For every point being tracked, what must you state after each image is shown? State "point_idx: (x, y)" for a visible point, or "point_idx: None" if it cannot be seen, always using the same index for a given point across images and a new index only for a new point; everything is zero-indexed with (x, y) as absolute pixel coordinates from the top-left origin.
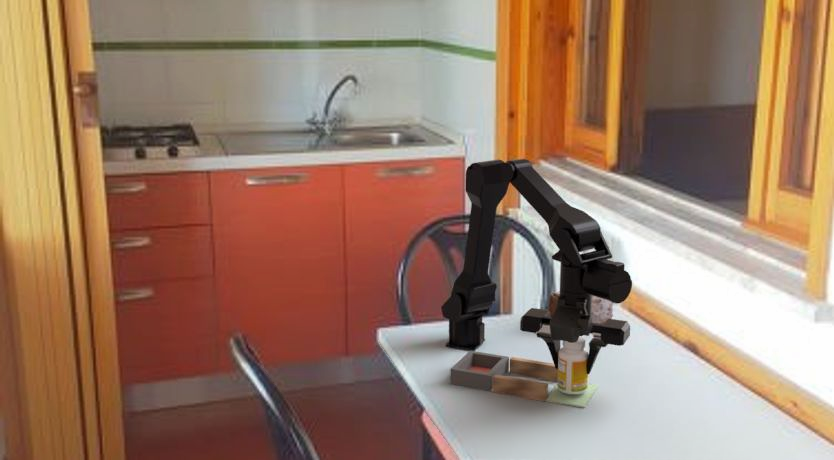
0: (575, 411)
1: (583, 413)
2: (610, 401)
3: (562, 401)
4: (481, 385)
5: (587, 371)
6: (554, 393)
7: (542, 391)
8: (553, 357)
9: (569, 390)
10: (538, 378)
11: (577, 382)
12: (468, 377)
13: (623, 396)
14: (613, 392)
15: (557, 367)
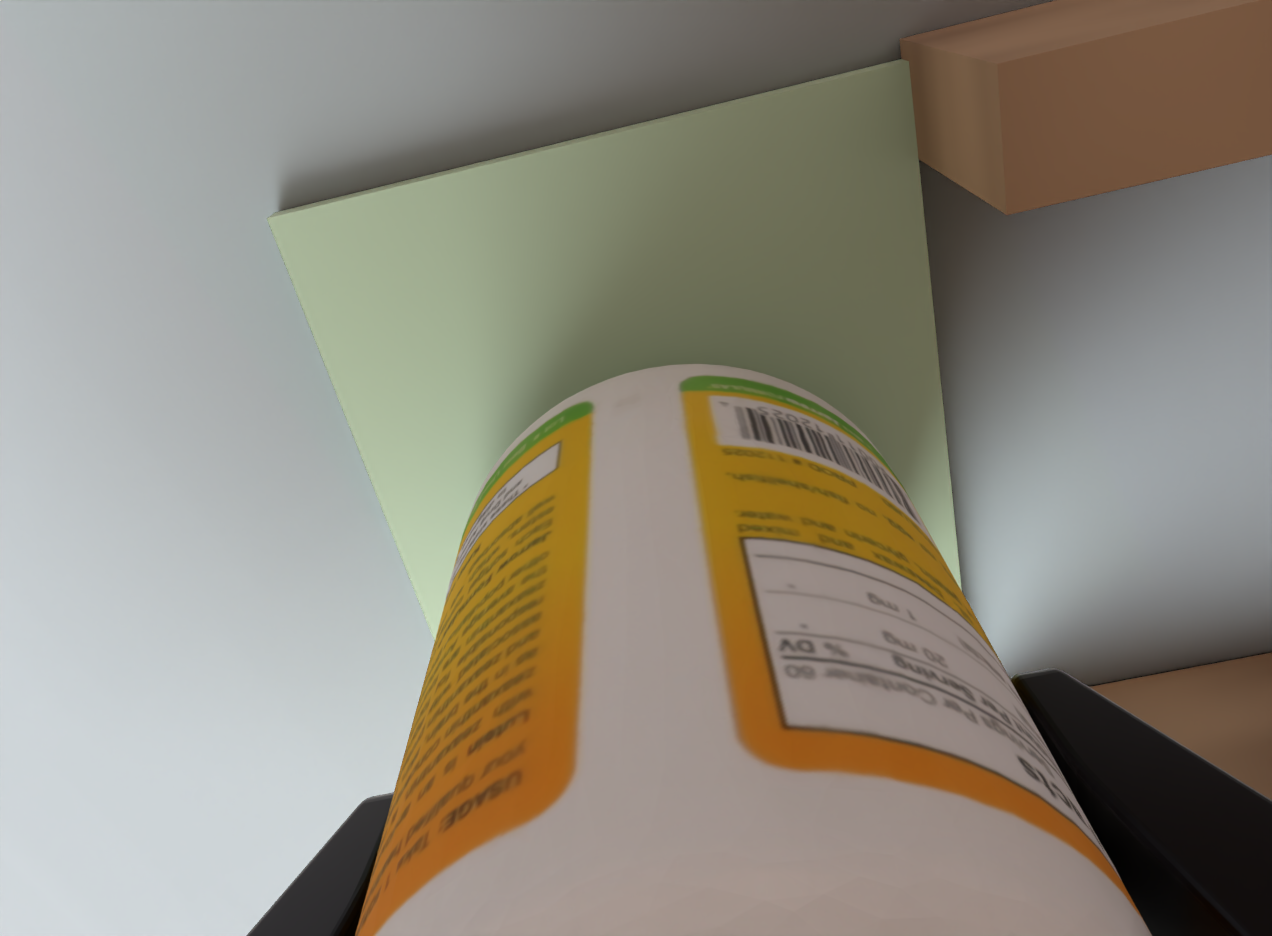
0: (302, 4)
1: (159, 18)
2: (161, 606)
3: (640, 169)
4: None
5: (375, 825)
6: (881, 354)
7: (1021, 33)
8: (1254, 827)
9: (618, 393)
10: (1268, 654)
11: (496, 534)
12: None
13: (147, 791)
14: (301, 814)
15: (1028, 693)
